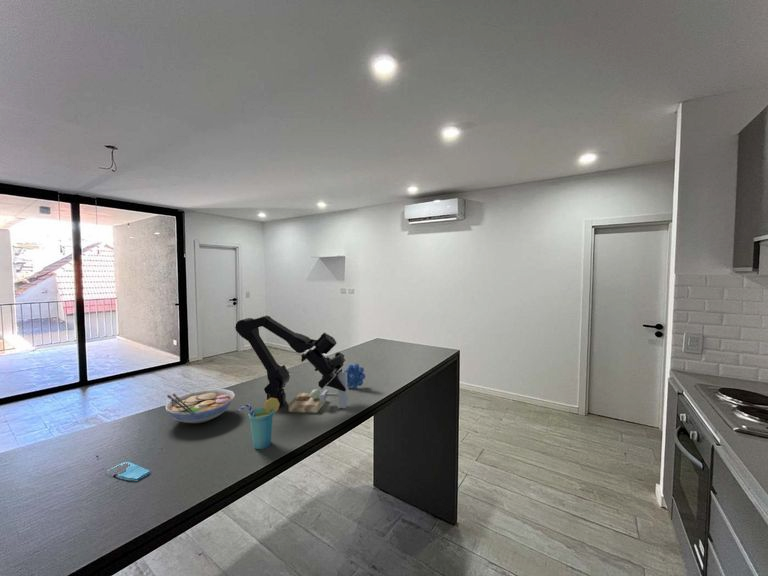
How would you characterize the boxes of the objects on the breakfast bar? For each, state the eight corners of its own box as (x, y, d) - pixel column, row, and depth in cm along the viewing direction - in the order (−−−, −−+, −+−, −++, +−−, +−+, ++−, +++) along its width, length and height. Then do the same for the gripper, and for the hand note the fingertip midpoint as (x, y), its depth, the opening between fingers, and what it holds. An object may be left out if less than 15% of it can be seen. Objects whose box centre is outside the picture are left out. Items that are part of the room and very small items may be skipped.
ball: (309, 400, 129) (308, 391, 129) (312, 397, 133) (312, 387, 133) (318, 401, 129) (318, 391, 129) (321, 397, 133) (321, 387, 133)
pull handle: (320, 408, 128) (319, 375, 127) (324, 402, 134) (324, 370, 133) (345, 409, 127) (344, 375, 126) (348, 403, 133) (348, 371, 132)
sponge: (127, 484, 83) (151, 469, 88) (103, 472, 88) (127, 458, 93) (128, 489, 83) (152, 474, 88) (104, 477, 88) (128, 463, 93)
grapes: (369, 387, 153) (369, 362, 152) (362, 392, 146) (362, 366, 146) (348, 383, 157) (347, 359, 157) (340, 388, 151) (340, 363, 151)
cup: (246, 461, 94) (244, 410, 93) (231, 452, 98) (230, 404, 97) (285, 440, 105) (284, 395, 104) (270, 433, 109) (269, 390, 109)
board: (288, 411, 126) (288, 404, 126) (299, 399, 138) (299, 392, 138) (316, 412, 125) (316, 405, 125) (325, 400, 137) (325, 393, 137)
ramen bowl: (247, 418, 121) (246, 397, 120) (176, 442, 104) (175, 418, 104) (221, 401, 138) (220, 382, 137) (157, 419, 121) (156, 397, 121)
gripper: (326, 353, 120) (355, 383, 119) (338, 342, 139) (364, 368, 138) (306, 373, 121) (335, 403, 121) (321, 360, 140) (346, 386, 139)
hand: (346, 389), depth 130 cm, fingers open, 3 cm apart
